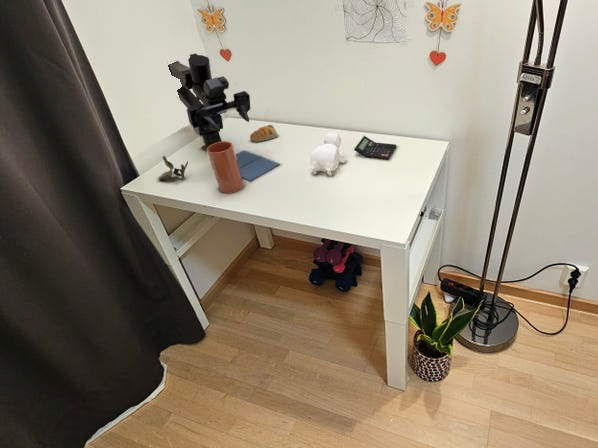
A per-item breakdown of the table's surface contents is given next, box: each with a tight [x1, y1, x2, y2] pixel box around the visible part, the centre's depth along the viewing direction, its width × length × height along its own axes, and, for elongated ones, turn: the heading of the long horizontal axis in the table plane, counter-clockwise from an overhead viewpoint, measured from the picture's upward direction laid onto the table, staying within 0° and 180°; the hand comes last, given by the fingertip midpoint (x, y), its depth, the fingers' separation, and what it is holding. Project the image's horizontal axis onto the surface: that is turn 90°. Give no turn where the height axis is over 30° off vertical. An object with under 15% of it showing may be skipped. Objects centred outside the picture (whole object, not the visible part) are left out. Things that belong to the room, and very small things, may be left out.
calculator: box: [353, 135, 397, 161], centre depth 131 cm, size 9×12×3 cm
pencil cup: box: [206, 141, 245, 194], centre depth 115 cm, size 7×7×13 cm
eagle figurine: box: [158, 155, 189, 181], centre depth 123 cm, size 8×7×9 cm
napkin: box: [235, 150, 280, 182], centre depth 128 cm, size 18×12×1 cm, turn 53°
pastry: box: [249, 124, 278, 143], centre depth 144 cm, size 9×7×4 cm
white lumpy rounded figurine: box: [310, 131, 346, 177], centre depth 124 cm, size 9×8×15 cm
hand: (234, 125), depth 116 cm, fingers open, 9 cm apart
